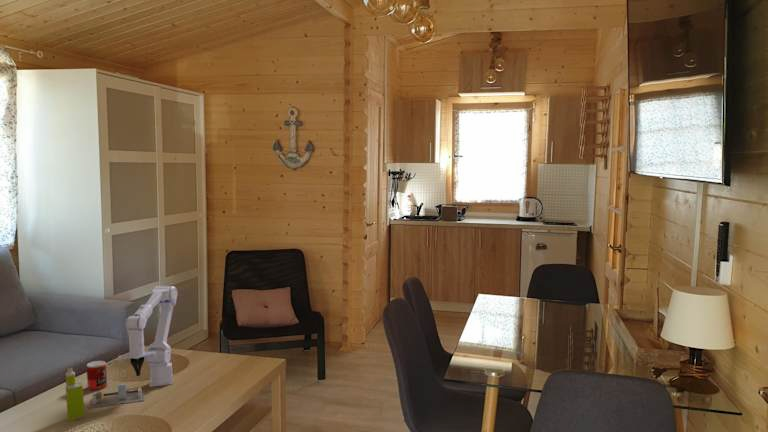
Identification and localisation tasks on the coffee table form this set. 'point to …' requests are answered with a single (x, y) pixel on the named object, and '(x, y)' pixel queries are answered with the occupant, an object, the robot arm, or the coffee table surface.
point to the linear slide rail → (116, 398)
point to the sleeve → (122, 390)
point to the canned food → (96, 375)
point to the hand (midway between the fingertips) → (138, 375)
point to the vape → (74, 396)
